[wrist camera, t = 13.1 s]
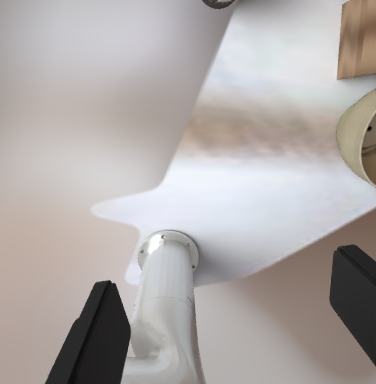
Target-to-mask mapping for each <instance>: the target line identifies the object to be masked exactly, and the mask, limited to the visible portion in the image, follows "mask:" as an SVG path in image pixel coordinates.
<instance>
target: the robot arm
mask: <svg viewBox="0 0 376 384" xmlns="http://www.w3.org/2000/svg"><path fill="white" fill-rule="evenodd" d="M198 261H199V254H198V249H197V247H196V245H195V243H194V242H193V241H192V240H191V239H190V238H189V237H188V236H186V235H185V234H182V233H180V232H176V231H160V232H157V233H154V234H152V235H150V236H149V237H148V238H146V239H145V240H144V242H143V243H142V244H141V246H140V249H139V252H138V263H139V266H140V268H141V270H142V274H141V278H140V283H139V287H138V292H137V297H136V302H135V306H134V310H133V315H132V320H131V325H130V324H129V321H128V318H127V316H126V313H125V310H124V307H123V304H122V301H121V298H120V295H119V292H118V289H117V286H116V284H115V283H112V282H111V281H110V280H109V281H101V282H96V283H95V284H94V286H93V289H92V291H91V293H90V295H89V297H88V299H87V302H86V304H85V306H84V308H83V311H82V312H81V315H80V317H79V318H78V319H77V320H75V322H74V323H73V325H72V327H71V329H70V332H69V334H68V336H67V338H66V340H65V342H64V344H63V346H62V348H61V350H60V353H59V355H58V357H57V359H56V361H55V363H54V365H53V367H52V369H51V372H50V374H49V375H48V377H47V379H46V380H45V382H44V384H206V381H205V377H204V373H203V369H202V364H201V359H200V353H199V347H198V338H197V327H196V314H195V301H194V287H193V274H192V273H193V272H194V271H195V269H196V268H197V265H198ZM330 303H331V306H332V307H333V309H334V310H335V312H336V313H337V314H338V316H339V317H340V318H341V320H342V321H343V323H344V324H345V325H346V327H347V328H348V329H349V331H350V332H351V333H352V335H353V336H354V337H355V339H356V340H357V342H358V343H359V344H360V346H361V347H362V348H363V350H364V351H365V352H366V354H367V355H368V356H369V358H370V359H371V360H372V362H373V363H374V365H375V366H376V261H374V260H373V259H372V258H371V257H370V256H368V255H367V254H366V253H365V252H363V251H362V250H361V249H360V248H359V247H357V246H356V245H346V246H340V247H338V248H337V251H334V255H333V266H332V276H331V287H330ZM130 339H131V344H132V347H133V350H134V353H135V356H136V357H135V358H133V357H126V356H127V351H128V346H129V341H130Z"/></svg>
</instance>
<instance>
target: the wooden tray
mask: <svg viewBox="0 0 376 384" xmlns="http://www.w3.org/2000/svg"><path fill="white" fill-rule="evenodd" d="M370 74H376V0H350V1H348V2H346V3H344V4H343V5H342V19H341V32H340V45H339V59H338V72H337V79H344V78H352V77H358V76H364V75H370Z"/></svg>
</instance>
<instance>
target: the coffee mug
mask: <svg viewBox="0 0 376 384" xmlns="http://www.w3.org/2000/svg"><path fill="white" fill-rule="evenodd" d="M202 1H203V2H204V3H205V4H206V5H208V6H209V7H212V8H215V9H221V8H225V7H227V6H229V5H230V4H231V3H232V2H233V1H234V0H202Z"/></svg>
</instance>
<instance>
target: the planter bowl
mask: <svg viewBox="0 0 376 384" xmlns="http://www.w3.org/2000/svg"><path fill="white" fill-rule="evenodd" d="M369 126H371V130H370V131H367V128H368V127H369ZM336 137H337V142H338V145H339V148H340V151H341V154H342V157H343V159H344V161H345V162H346V164H347V165H348V166H349V167H350V169H351V170H352V171H353V172H354V173H355V174H357V175H358V176H359V177H361V178H362V179H364V180H365V181H367V182H368V183H369V184H371V185H372V186H374V187H375V188H376V89H375V90H373V91H371V92H370V93H368V94H367V95H365V96H364V97H363V98H361V99H360V100H359V101H358V102H357V103H356V104H354V105H353V106H351V107H350V108H349V109H348V110H347V111H346V112H345V113H344V115H343V116H342V118H341V119H340V121H339V124H338V127H337V132H336Z"/></svg>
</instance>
